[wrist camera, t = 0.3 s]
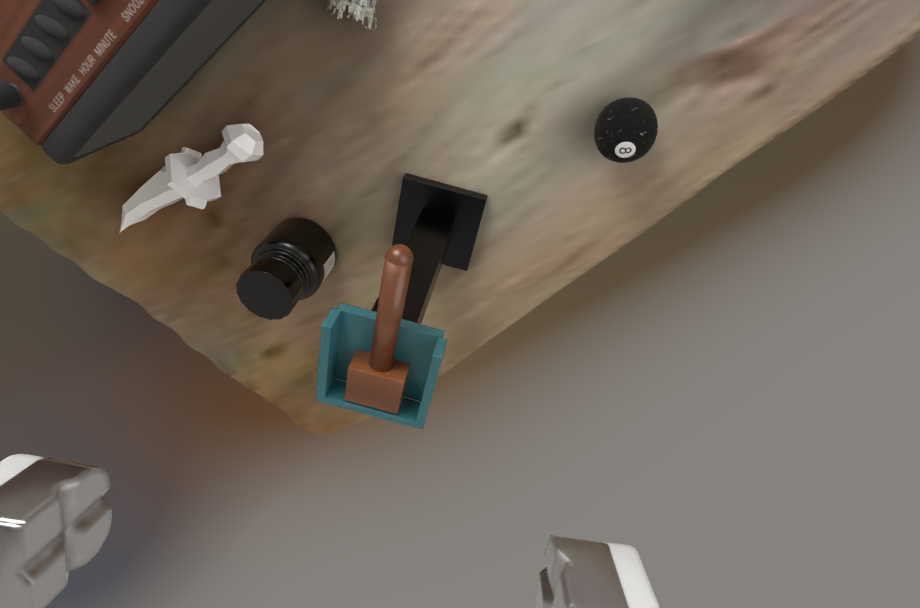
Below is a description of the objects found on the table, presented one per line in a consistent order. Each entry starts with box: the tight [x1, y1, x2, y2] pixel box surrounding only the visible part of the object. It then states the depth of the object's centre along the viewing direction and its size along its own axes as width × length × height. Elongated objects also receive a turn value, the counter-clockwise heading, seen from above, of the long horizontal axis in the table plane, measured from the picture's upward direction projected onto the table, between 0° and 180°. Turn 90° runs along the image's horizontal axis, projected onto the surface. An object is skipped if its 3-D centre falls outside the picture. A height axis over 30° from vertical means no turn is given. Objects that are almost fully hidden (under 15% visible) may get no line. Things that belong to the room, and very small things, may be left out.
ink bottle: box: [236, 218, 337, 320], centre depth 63 cm, size 10×9×12 cm
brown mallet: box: [344, 244, 413, 414], centre depth 40 cm, size 16×5×2 cm, turn 167°
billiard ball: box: [594, 98, 658, 163], centre depth 51 cm, size 6×6×6 cm
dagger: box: [120, 124, 263, 232], centre depth 62 cm, size 8×6×28 cm
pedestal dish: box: [316, 173, 487, 429], centre depth 52 cm, size 11×10×27 cm
